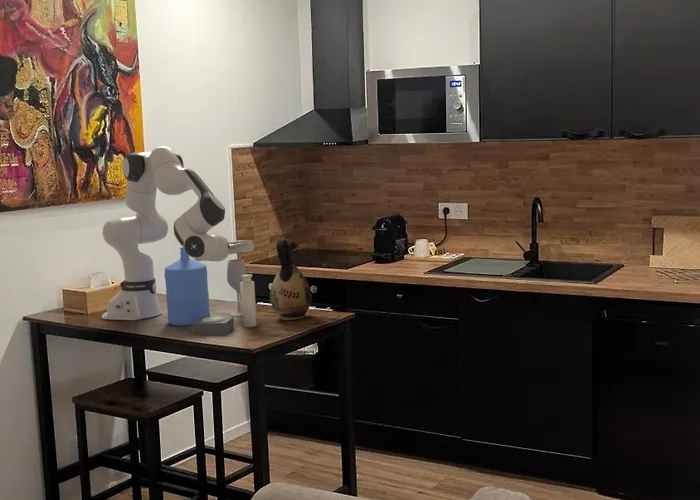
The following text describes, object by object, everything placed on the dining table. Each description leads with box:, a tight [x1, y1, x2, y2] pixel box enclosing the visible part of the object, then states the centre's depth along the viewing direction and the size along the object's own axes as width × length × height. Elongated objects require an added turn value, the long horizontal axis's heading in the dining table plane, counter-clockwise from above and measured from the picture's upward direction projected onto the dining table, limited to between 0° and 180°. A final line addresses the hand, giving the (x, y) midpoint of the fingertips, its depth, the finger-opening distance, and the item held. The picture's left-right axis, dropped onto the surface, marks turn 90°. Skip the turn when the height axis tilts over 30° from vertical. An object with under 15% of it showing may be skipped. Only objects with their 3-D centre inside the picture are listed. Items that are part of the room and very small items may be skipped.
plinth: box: [192, 316, 235, 335], centre depth 316 cm, size 12×10×4 cm
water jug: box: [164, 246, 211, 327], centre depth 331 cm, size 16×16×28 cm
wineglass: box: [226, 258, 248, 317], centre depth 340 cm, size 8×8×21 cm
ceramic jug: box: [269, 239, 313, 321], centre depth 329 cm, size 17×15×30 cm
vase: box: [240, 273, 257, 328], centre depth 321 cm, size 5×5×18 cm
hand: (234, 249), depth 314 cm, fingers open, 8 cm apart
